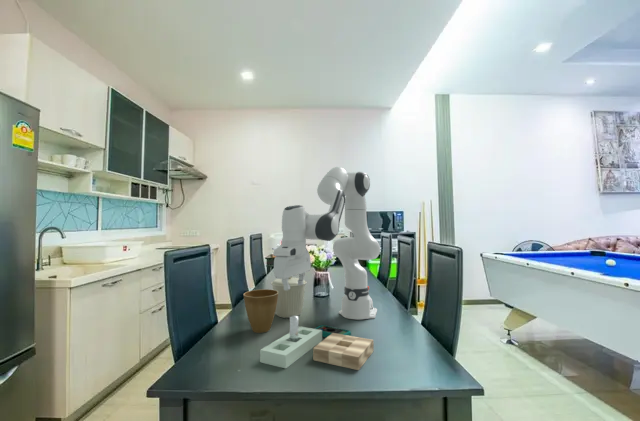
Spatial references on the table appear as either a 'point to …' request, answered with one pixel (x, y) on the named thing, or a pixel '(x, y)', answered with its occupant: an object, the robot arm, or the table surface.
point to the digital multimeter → (332, 331)
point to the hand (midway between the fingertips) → (293, 287)
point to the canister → (289, 297)
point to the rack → (290, 347)
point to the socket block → (344, 351)
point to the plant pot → (261, 308)
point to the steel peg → (294, 328)
